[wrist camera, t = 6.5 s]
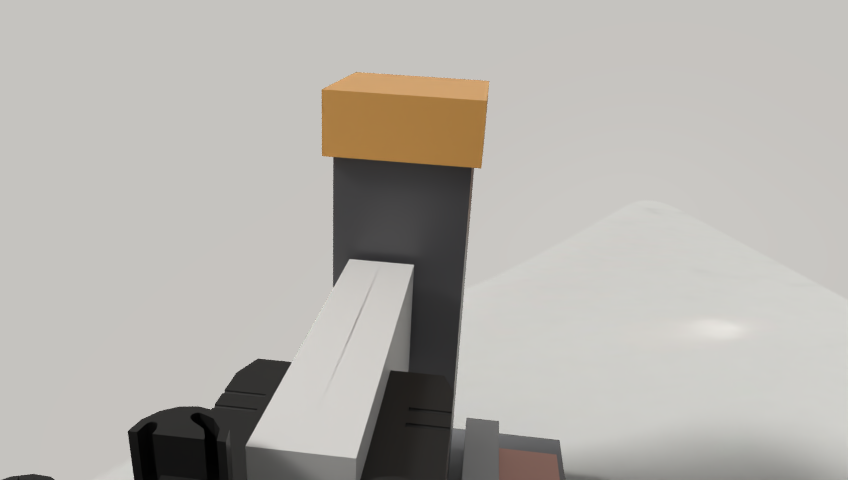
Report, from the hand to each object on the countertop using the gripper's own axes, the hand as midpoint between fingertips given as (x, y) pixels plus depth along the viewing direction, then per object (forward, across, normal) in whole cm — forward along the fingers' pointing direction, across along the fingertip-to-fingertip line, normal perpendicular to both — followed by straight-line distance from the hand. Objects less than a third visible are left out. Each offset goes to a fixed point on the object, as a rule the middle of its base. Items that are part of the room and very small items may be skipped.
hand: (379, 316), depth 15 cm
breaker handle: (+2, 0, -6) cm, 6 cm away
